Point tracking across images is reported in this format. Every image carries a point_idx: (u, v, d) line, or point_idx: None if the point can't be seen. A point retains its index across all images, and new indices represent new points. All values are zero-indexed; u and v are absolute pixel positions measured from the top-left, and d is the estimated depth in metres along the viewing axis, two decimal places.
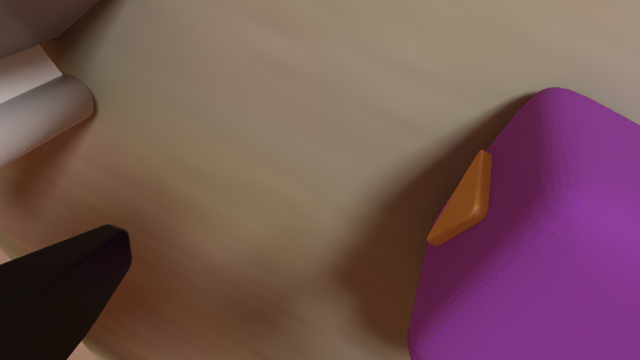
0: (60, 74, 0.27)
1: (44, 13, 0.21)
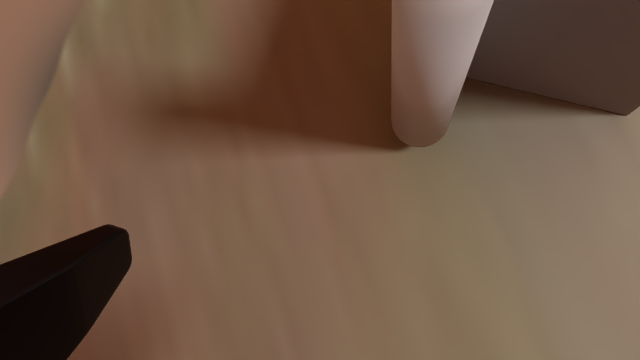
0: None
1: (585, 58, 0.19)
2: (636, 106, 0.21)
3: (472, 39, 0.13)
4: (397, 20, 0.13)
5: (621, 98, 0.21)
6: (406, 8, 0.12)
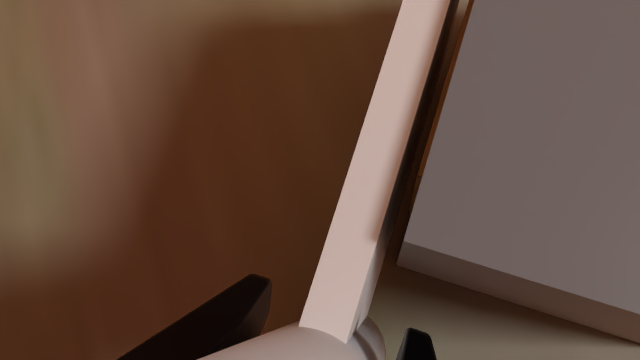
0: (367, 314, 0.15)
1: (597, 321, 0.11)
2: None
3: None
4: None
5: None
6: None
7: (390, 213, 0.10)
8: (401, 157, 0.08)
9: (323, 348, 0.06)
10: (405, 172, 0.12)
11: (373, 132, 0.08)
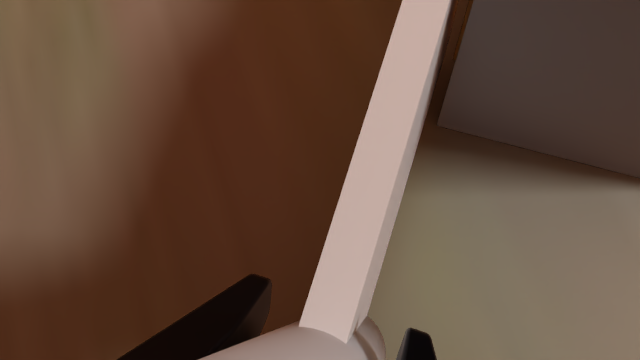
0: None
1: None
2: None
3: None
4: None
5: None
6: None
7: (390, 213, 0.10)
8: (401, 157, 0.08)
9: (323, 348, 0.06)
10: (405, 172, 0.12)
11: (373, 132, 0.08)
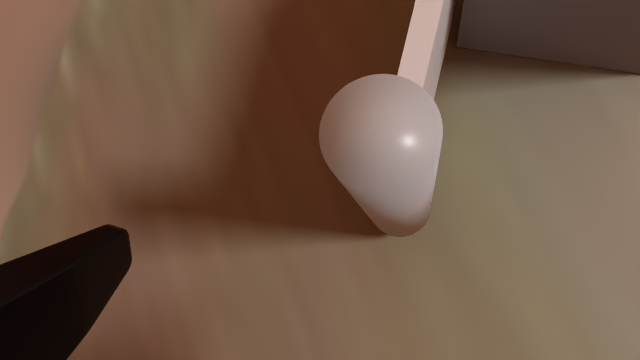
0: None
1: (595, 14, 0.18)
2: None
3: (422, 189, 0.11)
4: None
5: (638, 56, 0.20)
6: None
7: (430, 76, 0.16)
8: (436, 27, 0.14)
9: None
10: (437, 60, 0.18)
11: (419, 15, 0.14)
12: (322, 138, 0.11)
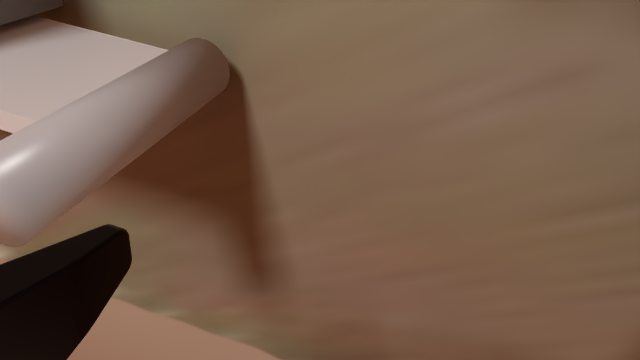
0: None
1: None
2: None
3: (49, 151, 0.13)
4: (56, 219, 0.14)
5: None
6: (32, 237, 0.13)
7: (33, 83, 0.18)
8: None
9: None
10: (36, 62, 0.19)
11: None
12: (10, 244, 0.13)
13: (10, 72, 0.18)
